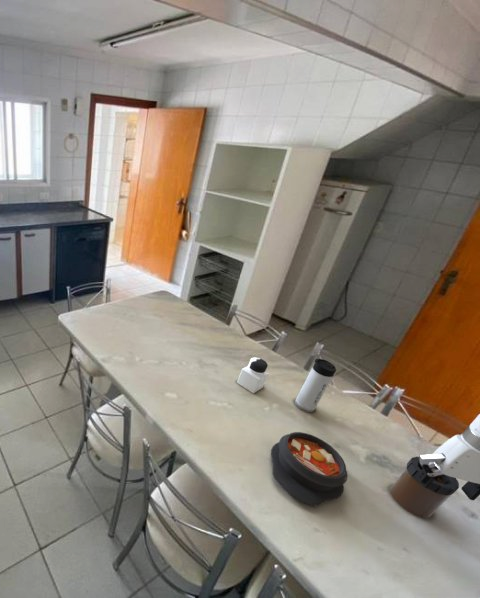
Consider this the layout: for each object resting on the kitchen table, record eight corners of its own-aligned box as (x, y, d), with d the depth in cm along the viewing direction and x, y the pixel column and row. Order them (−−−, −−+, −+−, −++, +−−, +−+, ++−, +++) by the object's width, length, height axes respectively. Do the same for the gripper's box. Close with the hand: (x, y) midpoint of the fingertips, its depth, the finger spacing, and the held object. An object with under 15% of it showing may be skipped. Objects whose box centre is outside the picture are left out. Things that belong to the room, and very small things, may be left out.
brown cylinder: (418, 491, 94) (445, 462, 88) (439, 522, 86) (469, 492, 80) (383, 482, 96) (407, 452, 90) (400, 511, 88) (427, 481, 82)
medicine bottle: (263, 387, 129) (273, 363, 124) (253, 394, 125) (263, 369, 120) (246, 376, 134) (255, 353, 129) (236, 382, 130) (245, 358, 125)
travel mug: (294, 397, 126) (315, 355, 116) (314, 405, 122) (337, 362, 113) (292, 406, 121) (314, 363, 112) (313, 415, 118) (337, 372, 109)
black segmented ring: (438, 468, 90) (443, 462, 89) (462, 500, 82) (468, 494, 81) (399, 458, 92) (403, 452, 91) (419, 488, 84) (424, 482, 83)
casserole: (328, 527, 83) (343, 508, 79) (254, 474, 95) (264, 455, 91) (350, 469, 99) (363, 451, 95) (284, 430, 111) (293, 412, 107)
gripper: (520, 440, 76) (473, 485, 84) (432, 420, 80) (395, 465, 88) (551, 468, 70) (498, 514, 78) (453, 445, 73) (412, 491, 81)
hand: (443, 488), depth 83 cm, fingers open, 9 cm apart
